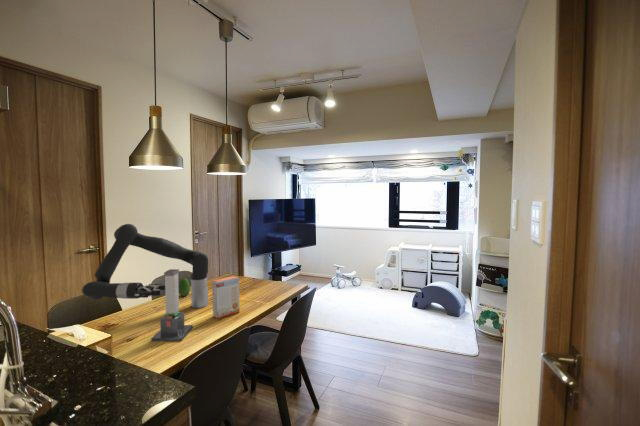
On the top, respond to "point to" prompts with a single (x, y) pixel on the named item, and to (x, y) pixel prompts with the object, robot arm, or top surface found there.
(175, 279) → the column
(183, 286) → the avocado
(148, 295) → the robot arm
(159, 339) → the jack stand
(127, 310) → the top surface
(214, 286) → the cracker box
